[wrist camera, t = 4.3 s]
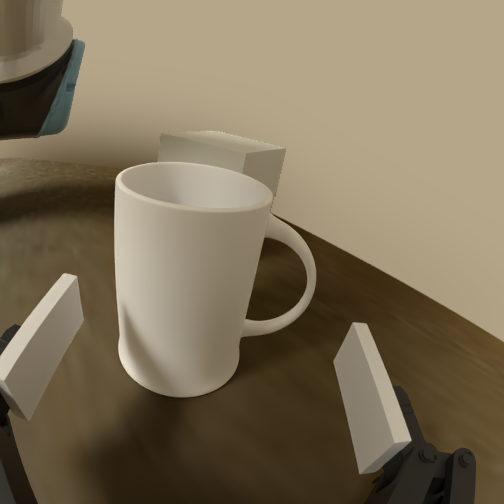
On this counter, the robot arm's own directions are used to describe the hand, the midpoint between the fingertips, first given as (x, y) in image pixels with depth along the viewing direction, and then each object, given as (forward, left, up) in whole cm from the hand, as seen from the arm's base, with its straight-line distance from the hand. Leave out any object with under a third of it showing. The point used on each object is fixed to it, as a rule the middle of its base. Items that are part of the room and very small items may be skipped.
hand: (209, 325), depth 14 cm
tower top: (-12, +20, -1) cm, 23 cm away
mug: (-2, +4, -7) cm, 8 cm away
